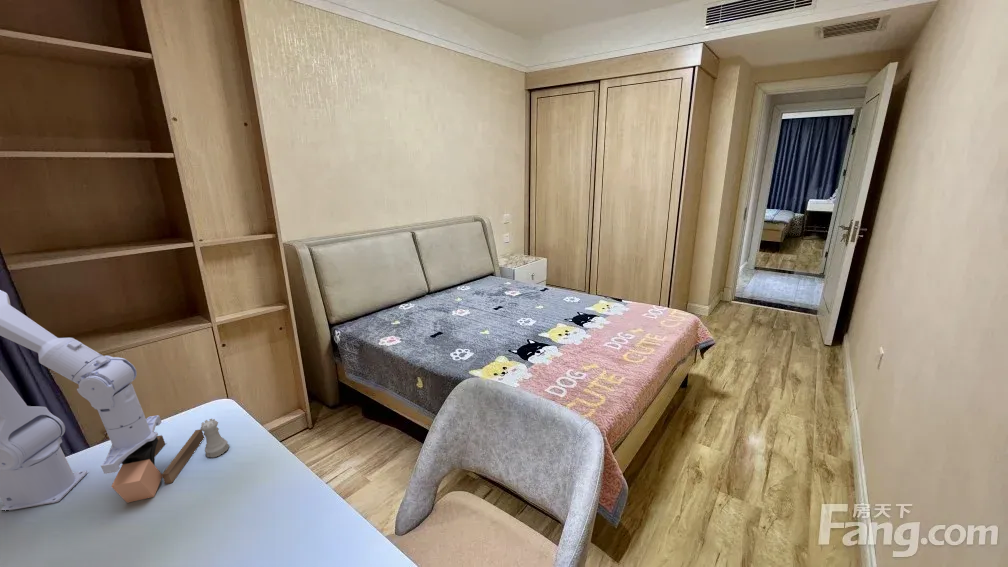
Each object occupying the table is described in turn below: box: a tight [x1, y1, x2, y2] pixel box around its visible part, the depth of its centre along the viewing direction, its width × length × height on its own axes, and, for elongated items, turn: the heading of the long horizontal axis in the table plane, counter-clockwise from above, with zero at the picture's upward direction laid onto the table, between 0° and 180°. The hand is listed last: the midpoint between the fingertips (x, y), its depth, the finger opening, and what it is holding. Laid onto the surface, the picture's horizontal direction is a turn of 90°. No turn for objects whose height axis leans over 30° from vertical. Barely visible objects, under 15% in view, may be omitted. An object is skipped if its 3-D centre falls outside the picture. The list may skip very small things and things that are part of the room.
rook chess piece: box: [199, 418, 230, 459], centre depth 90 cm, size 4×4×8 cm
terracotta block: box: [110, 459, 163, 504], centre depth 79 cm, size 4×4×6 cm
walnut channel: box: [155, 429, 205, 485], centre depth 88 cm, size 9×14×2 cm
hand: (147, 474), depth 83 cm, fingers closed
